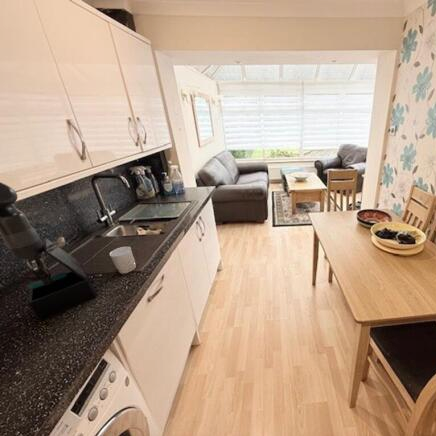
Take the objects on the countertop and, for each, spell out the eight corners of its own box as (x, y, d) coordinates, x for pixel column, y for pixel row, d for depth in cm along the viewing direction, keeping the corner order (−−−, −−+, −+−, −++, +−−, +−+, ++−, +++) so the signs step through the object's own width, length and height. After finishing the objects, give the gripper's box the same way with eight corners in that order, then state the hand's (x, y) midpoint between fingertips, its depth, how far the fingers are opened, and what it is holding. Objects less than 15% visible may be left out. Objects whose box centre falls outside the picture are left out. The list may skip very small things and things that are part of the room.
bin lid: (43, 252, 78) (59, 242, 80) (43, 239, 87) (58, 230, 89) (85, 280, 88) (98, 270, 91) (81, 266, 97) (93, 257, 99)
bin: (41, 322, 83) (28, 303, 79) (41, 303, 91) (29, 285, 88) (96, 298, 93) (86, 280, 89) (91, 283, 101) (83, 266, 97)
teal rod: (28, 290, 82) (26, 285, 82) (30, 290, 84) (28, 284, 84) (67, 276, 88) (65, 270, 88) (68, 276, 90) (66, 271, 90)
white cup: (139, 269, 109) (132, 250, 104) (119, 277, 104) (111, 258, 99) (135, 262, 114) (128, 244, 110) (116, 269, 109) (107, 251, 105)
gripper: (9, 238, 81) (35, 278, 89) (5, 254, 72) (34, 297, 79) (39, 230, 86) (62, 269, 93) (39, 244, 77) (64, 286, 84)
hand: (49, 282), depth 86 cm, fingers closed on teal rod, 2 cm apart
